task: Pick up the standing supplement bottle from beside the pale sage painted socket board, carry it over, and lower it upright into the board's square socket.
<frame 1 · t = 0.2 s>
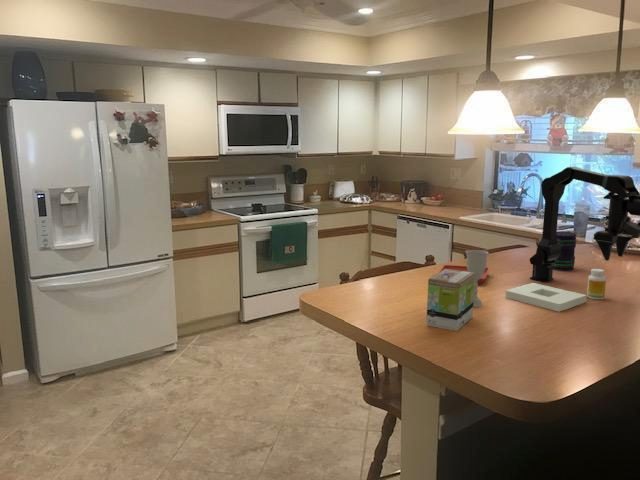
hand: (613, 258, 184), 13 cm above the kitchen island, fingers open, 9 cm apart
tea box: (450, 322, 164), on the kitchen island
supplement bottle: (595, 297, 186), on the kitchen island
socket board: (544, 299, 184), on the kitchen island
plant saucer: (463, 279, 214), on the kitchen island
storage jar: (561, 268, 226), on the kitchen island
chalice: (474, 305, 180), on the kitchen island
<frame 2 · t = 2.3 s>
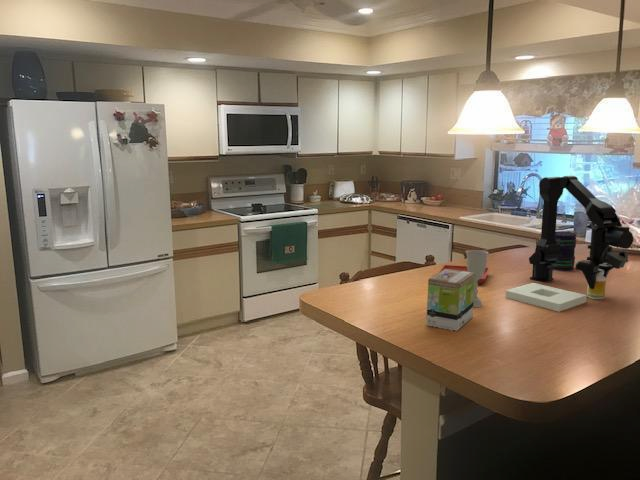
hand: (596, 287, 185), 4 cm above the kitchen island, fingers closed on supplement bottle, 5 cm apart
supplement bottle: (595, 297, 186), on the kitchen island, touching gripper
everything else where it was.
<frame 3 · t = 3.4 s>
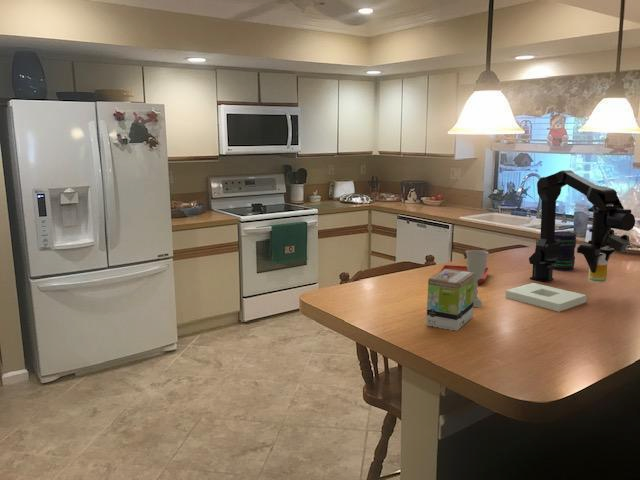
hand: (597, 271, 184), 9 cm above the kitchen island, fingers closed on supplement bottle, 5 cm apart
supplement bottle: (596, 281, 185), point 6 cm above the kitchen island, touching gripper
everything else where it was.
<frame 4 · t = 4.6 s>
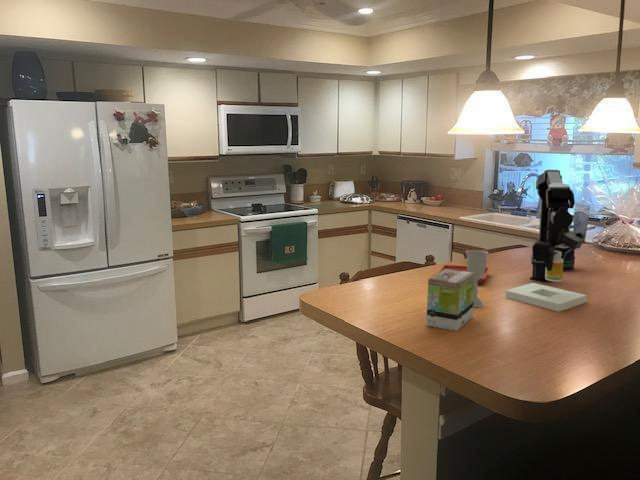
hand: (553, 269, 182), 11 cm above the kitchen island, fingers closed on supplement bottle, 5 cm apart
supplement bottle: (553, 280, 183), point 7 cm above the kitchen island, touching gripper
everything else where it was.
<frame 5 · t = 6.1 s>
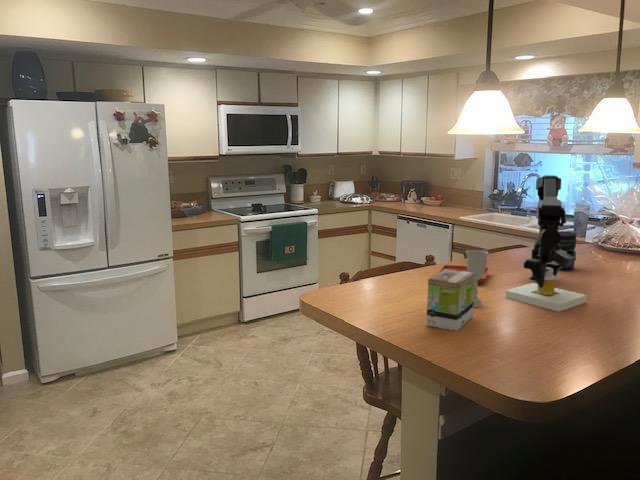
hand: (545, 286, 183), 5 cm above the kitchen island, fingers closed on supplement bottle, 5 cm apart
supplement bottle: (545, 296, 184), point 1 cm above the kitchen island, touching gripper
everything else where it was.
when the fingers open (4 cm above the kitchen island, at t = 7.3 s): supplement bottle stays where it is, resting in socket board.
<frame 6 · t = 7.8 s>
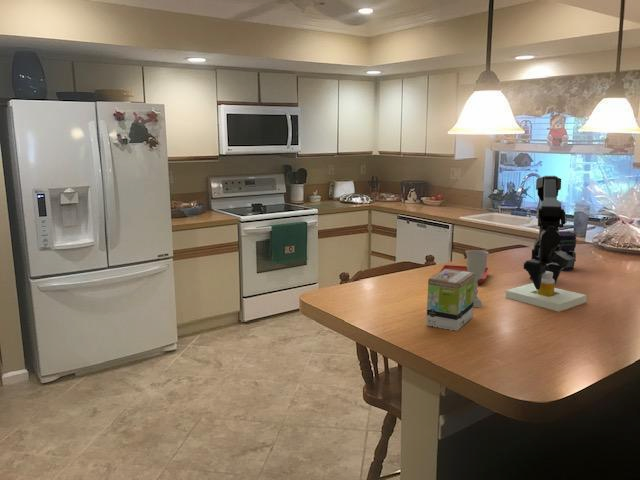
hand: (545, 287, 183), 4 cm above the kitchen island, fingers open, 9 cm apart
supplement bottle: (544, 300, 184), resting in socket board
everything else where it was.
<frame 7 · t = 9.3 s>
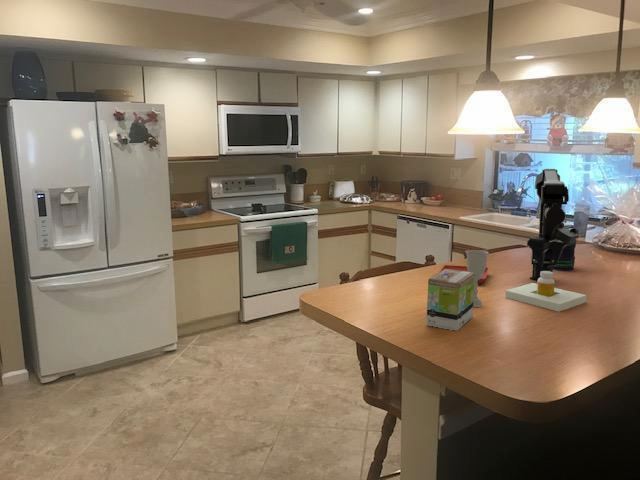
hand: (548, 263, 187), 11 cm above the kitchen island, fingers open, 9 cm apart
nothing on the kitchen island moved.
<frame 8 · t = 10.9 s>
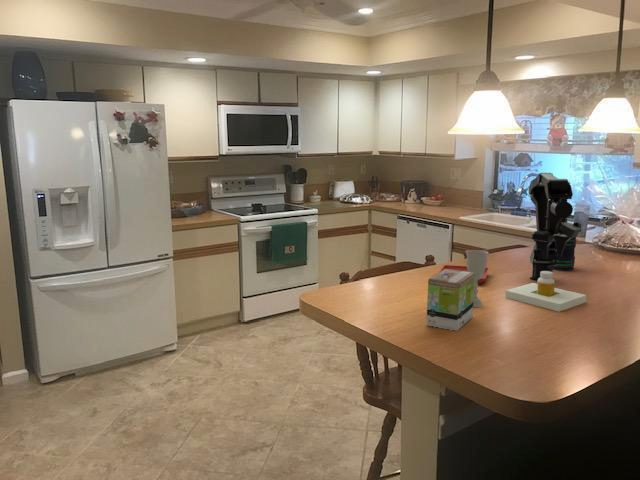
hand: (552, 257, 194), 12 cm above the kitchen island, fingers open, 9 cm apart
nothing on the kitchen island moved.
at the end: supplement bottle 0.0 cm off-centre on the socket board, point 0.0 cm above the socket board's base; supplement bottle tilted 0°; the gripper is holding nothing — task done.
